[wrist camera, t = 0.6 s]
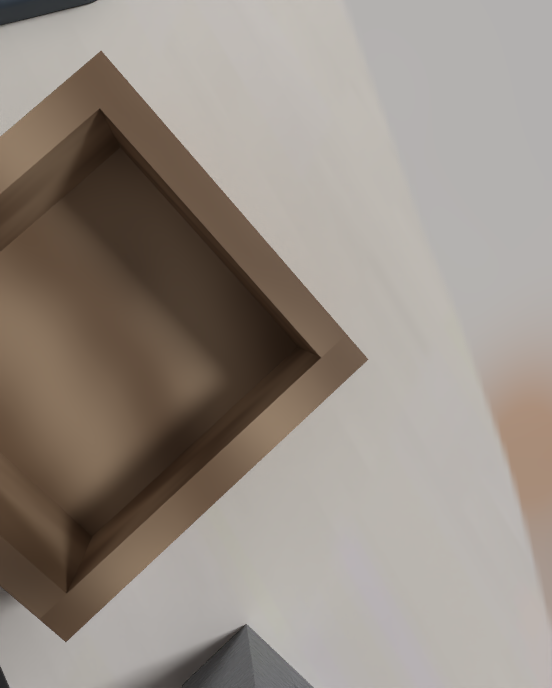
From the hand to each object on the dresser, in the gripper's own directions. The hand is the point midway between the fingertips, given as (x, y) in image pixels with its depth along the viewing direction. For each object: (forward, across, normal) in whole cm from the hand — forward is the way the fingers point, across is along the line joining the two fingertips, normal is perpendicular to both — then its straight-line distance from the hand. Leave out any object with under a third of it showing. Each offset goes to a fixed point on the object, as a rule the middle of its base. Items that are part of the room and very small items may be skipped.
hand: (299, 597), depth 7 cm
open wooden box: (+14, +5, -2) cm, 16 cm away
